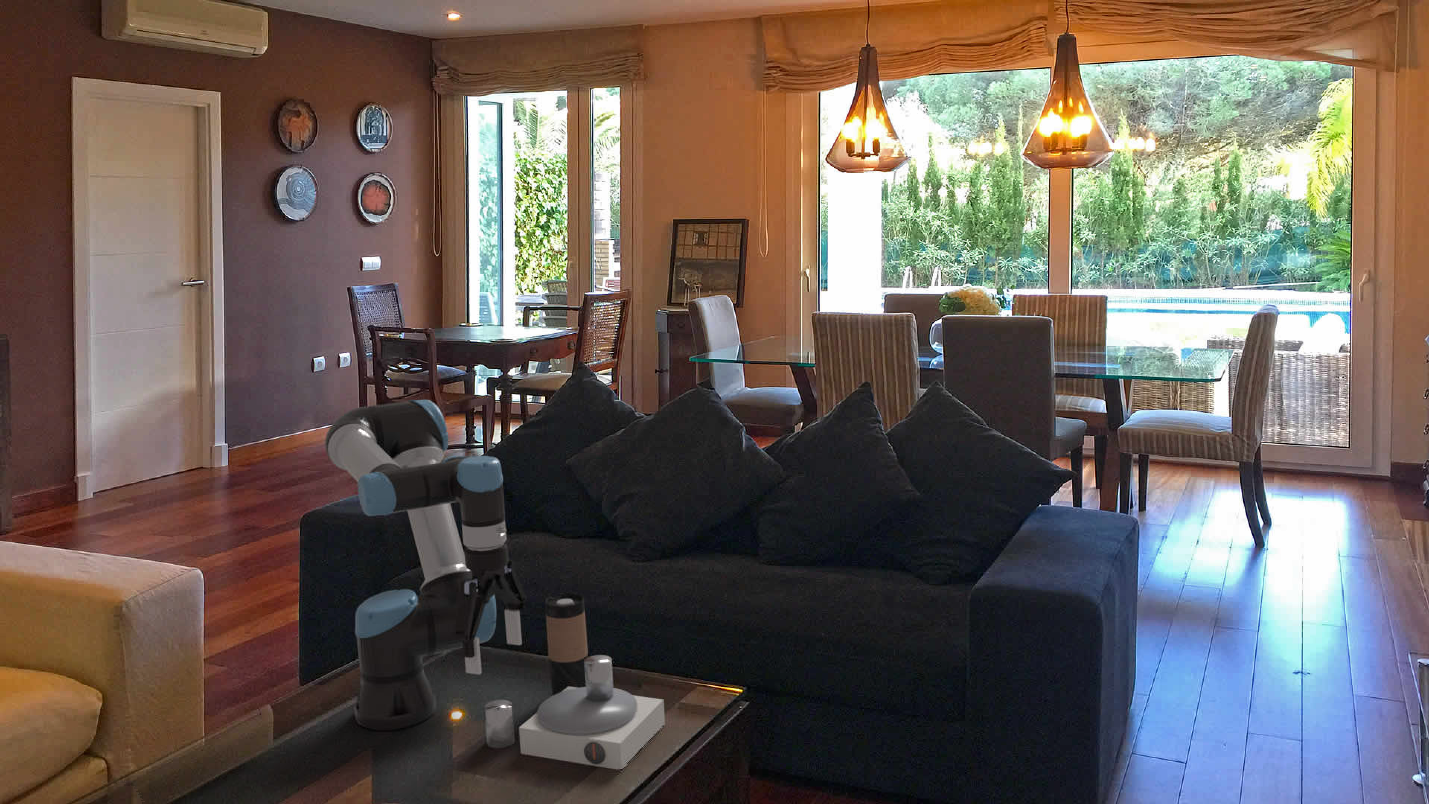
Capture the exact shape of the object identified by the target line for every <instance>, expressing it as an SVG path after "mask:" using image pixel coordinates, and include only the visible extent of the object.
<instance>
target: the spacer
mask: <svg viewBox="0 0 1429 804" xmlns="http://www.w3.org/2000/svg"><path fill="white" fill-rule="evenodd" d="M483 710H484V711H483V712H484V723H485V732H486V733H485V734H486V744H487V746H488V747H490V748H493V749H503V748H506V747H509V746H512V745H513V744H515V741H516V738H515V737H516V736H515V727H514V726H515V724H514V722H515V721H514V712H513V703H512V701H510V700H507V699H496V700H492V701H489V702H487V703H485V705H484V707H483Z"/></svg>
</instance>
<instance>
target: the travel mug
mask: <svg viewBox="0 0 1429 804" xmlns="http://www.w3.org/2000/svg"><path fill="white" fill-rule="evenodd" d="M544 604H545V620H546V635H547V637H546V638H547V652H548V653H547V656H548V663H549V665H548V667H549V673H550V684H551V685H550V686H551V692H552V696H553V695H555V694H558V693H560V692H562V691H563V690H564V689H566V688H567V687H568V686H569V687H576V688H581V687H586V680H585V665H584V661H585V659H586V658H588V657H589V655H588V654H589V652H588V637H587V627H586V626H587V624H586V613H585V612H586V610H585V599H584V596H583V595H581V594H578V593H574V592H565V593H561V595H560V596H557V597H552V596H548V598H546V599H545V603H544Z"/></svg>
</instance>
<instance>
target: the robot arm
mask: <svg viewBox="0 0 1429 804" xmlns="http://www.w3.org/2000/svg"><path fill="white" fill-rule="evenodd" d="M446 423H447V422H446V420H445V418H444V416H443V413H442V411H441V409H440V408H439V406H437V405H436V404H435V402H432V401H431V400H430V399H417V400H415V399H410V400H407V401H401V402H394V403H386V404H385V403H384V404H377V405H370V406H359V407H356V408H353V409H351V410H349V411H346V412H345V413H344V414H341V415H340V416H339V417H338V418H337V419H336V420H335V421H334V422H333V423H331V426H330V427H329V428H328V430H327V433H326V436H325V440H324V441H325V442H324V447H325V452H326V455H327V456H328V459H330V461H331V462H332V463H333V464H334V465H335V466H336V467H337V468H339V469H340V470H344V471H347V472H348V474H350V476H351V477H352V478H353V479H354V480H355V482H357V493H358V500H359V504H360V507H361V510H362V512H363V513H364V514H365V515H366V516H368V517H373V516H381V515H382V516H388V515H391V514H396V513H401V512H402V513H403V512H407V514H408V518H409V524H410V527H411V531H412V533H413V537H414V543H415V547H416V549H417V552H418V556H419V560H420V565H421V568H422V572H423V575H424V582H423V583H422V584H421V586H420V588H419V592H420V595H417V594H416V592H415V591H414V590H412V589H408V588H407V589H406V588H401V589H399V590H398V589H392V590H386V591H383V592H380V593H377V594H375V595H373V596H371V597H369V598H367V599H365V600H364V601H363V602H362V603H361V604H359V606H358V607H357V609H356V611H355V618H354V619H355V623H354V624H355V629H354V634H355V636H356V641H357V642H356V644H357V651H358V652H357V653H358V662H359V670H360V671H359V672H360V684H359V689H358V692H357V697H356V701H355V705H354V717H356V719H355V721H356V720H357V721H358V722H359V723H360V724H361V725H363V726H364V727H366V728H365V729H367V728H369V729H368V730H371V729H372V731H393V730H395V731H396V730H399V729H400V730H401V729H405V728H409V727H412V726H416V725H418V724H420V723H422V722H425V721H426V720H428V719H429V718H431V717H432V716H433V715H434V713H435V712H436V709H437V703H436V695H435V692H434V691H433V690H432V688H431V686H430V682H429V681H428V678H427V676H426V674H425V672H424V664H423V663H424V662H423V658H424V657H429V656H433V655H437V654H441V653H445V652H450V651H455V650H459V649H463V655H464V663H465V673H466V674H472V675H481V674H482V660H481V651H480V649H481V648H480V644H483V643H486V642H488V641H489V640H491V639H492V637H493V636H494V633H495V630H496V627H497V626H496V625H497V603H496V595H497V596H498V597H499V598H500V600H501V601H502V602H503V604H504V605H505V606H506V609H505V610H504V621H505V633H506V644H508V645H513V646H515V645H516V646H521V645H523V641H522V627H521V612H520V610H525V608H526V602H527V596H526V594H525V591H524V588H523V586H522V583H521V582H520V579H519V575H518V574H517V572H516V569H515V568H516V567H515V561H514V560H513V559H509V552H508V551H509V549H508V544H507V543H506V541H507V527H506V511H505V498H504V496H505V495H504V486H503V485H504V484H503V482H504V475H503V473H502V466H501V462H500V460H499V459H498V458H497V457H495V456H488V455H478V456H477V455H476V456H470V457H466V456H462V455H451V456H449V457H446V458H445V459H444V457H445V452H446V451H447V449H448V447H449V444H450V443H449V433H448V426H447V424H446ZM452 503H459V504H460V505H459V506H460V514H461V528H462V541H463V545H464V546H465V547H464V549H463V545H462V542H461V537H460V535H459V530H458V527H457V523H456V520H455V516H454V513H453V509H452V505H451V504H452ZM364 727H363V728H364Z"/></svg>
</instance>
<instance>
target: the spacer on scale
mask: <svg viewBox="0 0 1429 804" xmlns="http://www.w3.org/2000/svg"><path fill="white" fill-rule="evenodd" d="M612 661H613V659H612V658H611V656H609V655H603V654H596V655H591V656H588V658H586V659H585V661H584V665H585V680H586V695H587V699H588V700H590V701H593V702H603V701H607V700H610V699H611V698H613V696H614V691H613V688H614V677H613V663H612Z"/></svg>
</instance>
